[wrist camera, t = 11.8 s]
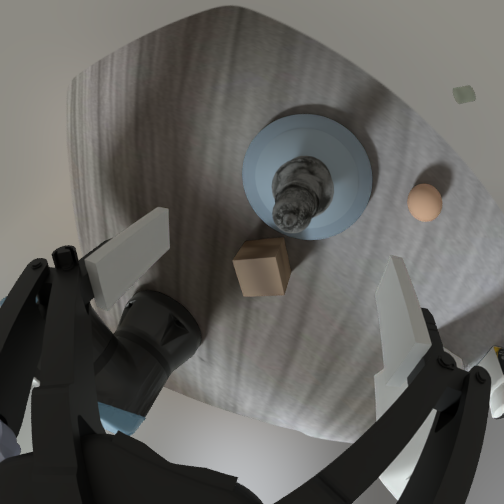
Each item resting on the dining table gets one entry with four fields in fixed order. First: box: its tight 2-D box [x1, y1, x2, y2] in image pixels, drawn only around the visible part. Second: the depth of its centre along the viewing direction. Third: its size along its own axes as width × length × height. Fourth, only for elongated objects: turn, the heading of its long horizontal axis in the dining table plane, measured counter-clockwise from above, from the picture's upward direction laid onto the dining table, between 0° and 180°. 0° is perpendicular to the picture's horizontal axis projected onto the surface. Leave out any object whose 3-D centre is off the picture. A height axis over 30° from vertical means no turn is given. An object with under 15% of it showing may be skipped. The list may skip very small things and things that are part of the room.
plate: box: [242, 114, 372, 240], centre depth 29 cm, size 14×14×1 cm
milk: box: [374, 347, 464, 500], centre depth 27 cm, size 12×12×26 cm
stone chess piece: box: [272, 156, 334, 233], centre depth 23 cm, size 6×6×12 cm
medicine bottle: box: [477, 346, 504, 419], centre depth 28 cm, size 7×7×12 cm
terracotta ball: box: [407, 184, 442, 222], centre depth 25 cm, size 4×4×4 cm
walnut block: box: [232, 237, 291, 297], centre depth 34 cm, size 5×5×5 cm
